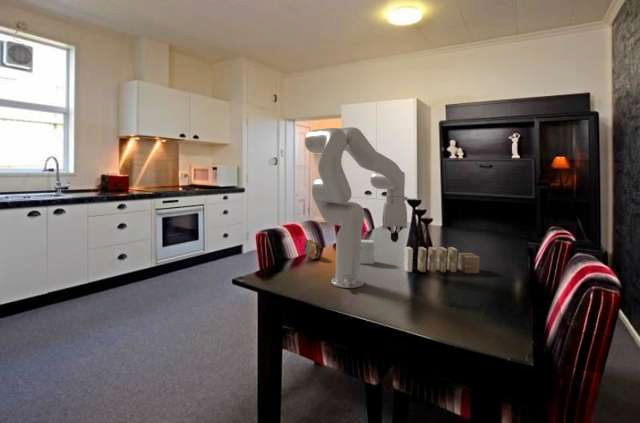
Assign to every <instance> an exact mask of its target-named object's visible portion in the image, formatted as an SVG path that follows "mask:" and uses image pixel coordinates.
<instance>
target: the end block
mask: <svg viewBox="0 0 640 423" xmlns="http://www.w3.org/2000/svg"><path fill="white" fill-rule="evenodd" d="M480 260H481V258H480V256H478V255H476V254H475V253H472V252H458V253H457V269H458V268H459V270H460V271H462V272H463V273H465V274H479V273H480Z"/></svg>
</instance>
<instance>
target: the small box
mask: <svg viewBox="0 0 640 423" xmlns="http://www.w3.org/2000/svg"><path fill="white" fill-rule="evenodd" d="M360 265H375V240H374V239H361V259H360Z"/></svg>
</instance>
